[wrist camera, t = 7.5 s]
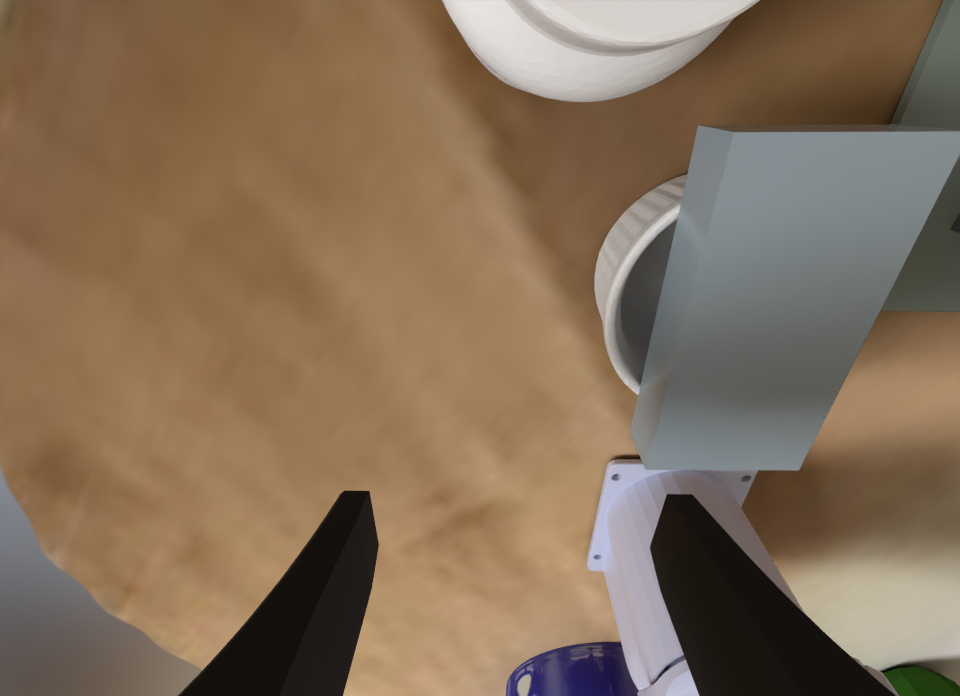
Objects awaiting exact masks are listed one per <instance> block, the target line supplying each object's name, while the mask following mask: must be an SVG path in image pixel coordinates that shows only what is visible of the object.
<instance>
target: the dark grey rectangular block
mask: <svg viewBox="0 0 960 696" xmlns="http://www.w3.org/2000/svg"><path fill="white" fill-rule="evenodd" d="M950 230H952V231H955V232H958V233H960V213H959V214H958V216H957V218H956V220H955V222H954V223H953V225H952V227H951V229H950Z"/></svg>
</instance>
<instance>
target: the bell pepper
mask: <svg viewBox="0 0 960 696" xmlns="http://www.w3.org/2000/svg"><path fill="white" fill-rule="evenodd" d="M883 674H884V675H885V677H886V678H887V679H888V681H889V682H890V684H891V685H892V686H893V688H894V689H895V691H896V692H897V693H898V695H899V696H960V687H959V686H958V685H957V684H956V683H955V682H953V681H952V680H950V679H948V678H946V677H945V676H943V675H941V674H940V673H932V672H930V671H929V670H926V669H923V668H920V667H906V668H896V669H894V670H891V671H888V672H885V673H883Z"/></svg>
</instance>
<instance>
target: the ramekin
mask: <svg viewBox="0 0 960 696" xmlns="http://www.w3.org/2000/svg"><path fill="white" fill-rule="evenodd" d="M686 179H687V174H686V175H683V176H679V177H676V178H674V179H672V180H670V181H667V182H665V183H663V184H661V185H659V186H658V187H656V188H654V189H653V190H651V191H649V192H647V193H646V194H645V195H644V196H642V197H641V198H640V199H638V200H637V201H636V202H635V203H634V204H633V205H632V206H630V207H629V208H628V209H627V210H626V211H625V212H624V213H623V214H622V215H621V217H620V218H619V219H618V221H617V222H616V223H615V224H614V225H613V227H612V228H611V230H610V232H609V233H608V235H607V237H606V239H605V241H604V243H603V245H602V247H601V250H600V252H599V256H598V260H597V263H596V271H595V277H594V278H595V286H594V291H595V295H596V302H597V306H598V309H599V312H600V315H601V319H602V322H603V332H604V339H605V344H606V348H607V352H608V355H609V357H610V360H611V362H612V364H613V366H614V368H615V370H616V372H617V373H618V375H619V376H620V378H621V379H622V380H623V382H624V383H625V384H626V385H627V386H628V387H629V388H630V389H631V390H633V391H634V392H635V393H636V394H637V395H638V394H639V390H640V385H641V380H642V376H643V371H644V367H645V363H646V358H647V354H648V349H649V345H650V340H651V336H652V331H653V327H654V322H655V318H656V313H657V309H658V304H659V300H660V295H661V291H662V286H663V282H664V277H665V273H666V268H667V264H668V259H669V255H670V250H671V246H672V241H673V237H674V232H675V228H676V223H677V219H678V214H679V210H680V205H681V201H682V196H683V192H684V188H685V183H686Z"/></svg>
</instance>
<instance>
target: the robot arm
mask: <svg viewBox="0 0 960 696" xmlns="http://www.w3.org/2000/svg"><path fill="white" fill-rule="evenodd" d="M757 472H758V470H645V467H644V465H643V463H642V460H640V459H616V460H612V461H610V462H609V463H608V465H607V468H606V473H605V478H604V482H603V487H602V492H601V496H600V501H599V506H598V510H597V515H596V520H595V524H594V529H593V534H592V538H591V543H590V548H589V552H588V557H587V567H588V569H589V570H591V571H604V575H605V579H606V583H607V587H608V591H609V595H610V599H611V603H612V607H613V612H614V616H615V620H616V624H617V628H618V632H619V636H620V640H621V644H622V648H623V652H624V656H625V660H626V664H627V667H628V670H629V673H630V675H631V678H632V680H633V682H634V684H635V685H636V687H637V689H638V690H639V691H638V693H637V694H638V696H899V695H898V693H897V692H896V691H895V689H894V688H893V686H892V685H891V684H890V682H889V681H888V679H887V678H886V677H885V675H884V674H883V673H882V672H880V671H878V670H876V669H874V668H872V667H870V666H867V665H865V666H864V665H863V664H862V663H861V662H860V661H859V660H858V659H856V658H852V657H851V656H850V655H848V654H847V653H846V652H845V651H844V650H843V649H842V648H841V647H839V646H838V645H837V644H836V643H835V642H834V641H833V640H832V639H831V638H830V637H829V636H827V635H826V634H825V633H824V632H823V631H822V630H821V629H820V628H819V627H818V626H817V625H816V624H815V623H814V622H813V621H812V620H811V619H810V618H809V617H808V616H807V615H806V614H805V613H804V611H803V609H802V608H801V606H800V604H799V603H798V601H797V599H796V598H795V596H794V594H793V593H792V591H791V590H790V588H789V586H788V585H787V583H786V581H785V580H784V578H783V576H782V575H781V573H780V571H779V570H778V568H777V566H776V565H775V563H774V561H773V560H772V558H771V557H770V555H769V553H768V552H767V550H766V548H765V547H764V545H763V543H762V542H761V540H760V538H759V537H758V535H757V533H756V532H755V530H754V528H753V527H752V525H751V524H750V522H749V520H748V519H747V517H746V515H745V514H744V512H743V510H742V509H741V507H742V505H743V503H744V500H745V498H746V496H747V494H748V492H749V490H750V487H751V485H752V483H753V481H754V479H755V477H756V474H757ZM614 474H617V475H614ZM378 546H379V544H378V538H377V532H376V526H375V521H374V515H373V509H372V504H371V498H370V492H369V491H343V492H342V493H341V494H340V495H339V497H338V498H337V500H336V502H335V503H334V505H333V506H332V508H331V509H330V511H329V512H328V514H327V515H326V517H325V518H324V520H323V521H322V523H321V524H320V526H319V527H318V529H317V530H316V532H315V533H314V534H313V536H312V537H311V539H310V540H309V542H308V543H307V544H306V546H305V547H304V549H303V550H302V551H301V553H300V554H299V555H298V557H297V558H296V559H295V561H294V562H293V563H292V565H291V566H290V568H289V569H288V570H287V572H286V573H285V574H284V576H283V577H282V578H281V579H280V581H279V582H278V583H277V585H276V586H275V587H274V588H273V590H272V591H271V592H270V593H269V594H268V596H267V597H266V598H265V599H264V601H263V602H262V603H261V604H260V606H259V607H258V608H257V609H256V611H255V612H254V613H253V614H252V616H251V617H250V618H249V619H248V620H247V621H246V623H245V624H244V625H243V626H242V627H241V628H240V630H239V631H238V632H237V633H236V634H235V635H234V637H233V638H232V639H231V640H230V641H229V642H228V643H227V644H226V646H225V647H224V648H223V649H222V650H221V651H220V652H219V653H218V654H217V655H216V657H215V658H214V659H213V660H212V661H211V662H210V663H209V664H208V665H207V666H206V667H205V668H204V670H203V671H202V672H201V673H200V674H199V675H198V676H197V677H196V678H195V679H194V680H193V681H192V682H191V683H190V684H189V685H188V686H187V687H186V688H185V689H184V690H183V691H182V692H181V693H180V694H179V695H178V696H343V693H344V689H345V686H346V682H347V678H348V674H349V671H350V667H351V663H352V660H353V656H354V652H355V649H356V645H357V641H358V638H359V634H360V630H361V627H362V623H363V619H364V615H365V612H366V608H367V604H368V600H369V596H370V593H371V589H372V583H373V577H374V571H375V565H376V559H377V552H378Z"/></svg>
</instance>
